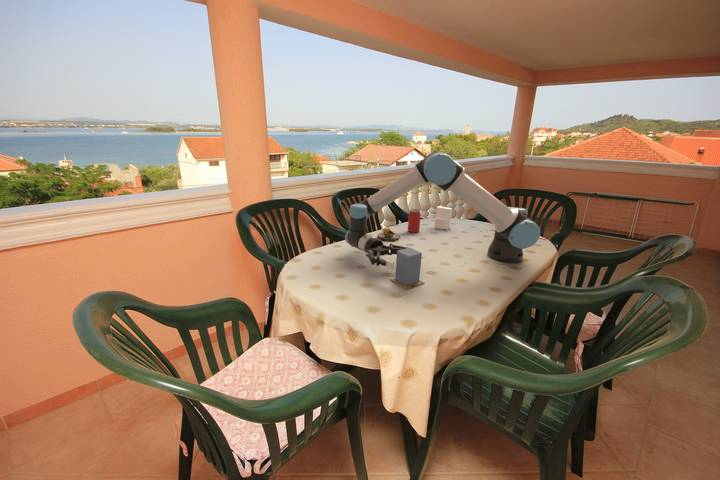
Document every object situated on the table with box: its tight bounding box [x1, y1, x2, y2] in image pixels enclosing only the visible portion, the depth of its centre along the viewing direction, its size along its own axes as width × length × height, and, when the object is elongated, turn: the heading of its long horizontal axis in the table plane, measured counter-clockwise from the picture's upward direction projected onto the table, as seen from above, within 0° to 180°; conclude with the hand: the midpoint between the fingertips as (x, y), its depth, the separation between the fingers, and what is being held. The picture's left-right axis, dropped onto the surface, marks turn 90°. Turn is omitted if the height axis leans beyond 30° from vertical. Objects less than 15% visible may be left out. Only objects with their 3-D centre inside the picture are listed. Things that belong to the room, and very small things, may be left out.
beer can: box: [407, 209, 422, 234], centre depth 180 cm, size 7×7×12 cm
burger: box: [377, 226, 401, 243], centre depth 168 cm, size 12×12×8 cm
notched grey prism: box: [394, 247, 423, 286], centre depth 118 cm, size 6×6×12 cm
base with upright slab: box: [434, 205, 453, 230], centre depth 188 cm, size 9×9×12 cm
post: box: [389, 277, 425, 291], centre depth 119 cm, size 9×9×8 cm
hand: (406, 262), depth 118 cm, fingers open, 13 cm apart
